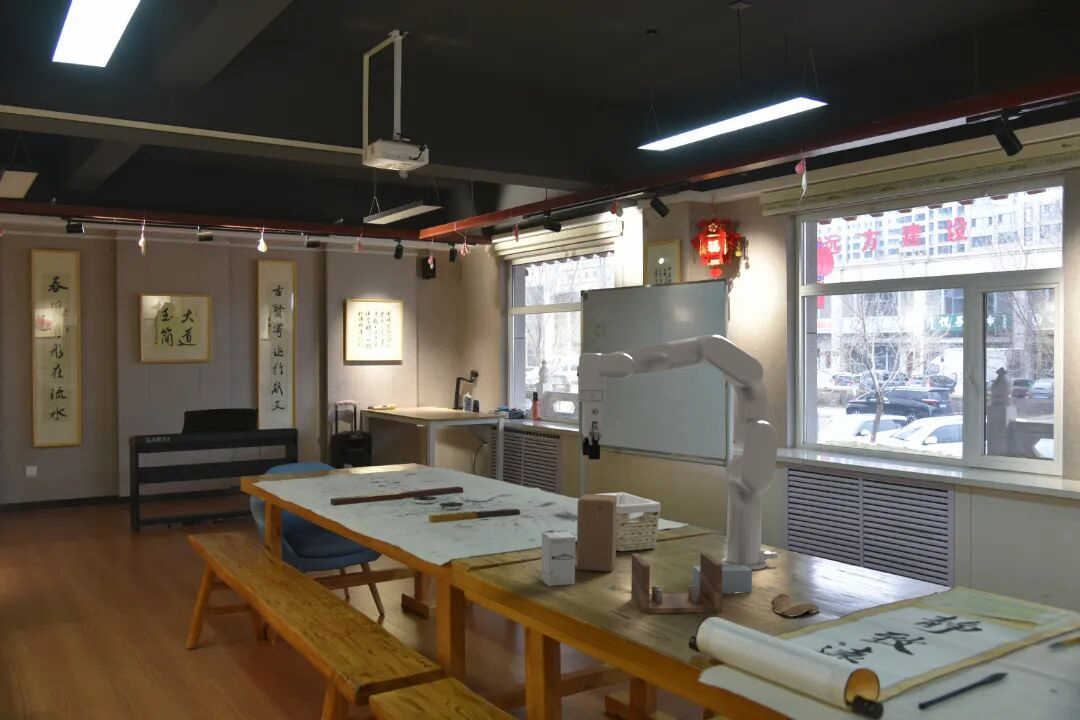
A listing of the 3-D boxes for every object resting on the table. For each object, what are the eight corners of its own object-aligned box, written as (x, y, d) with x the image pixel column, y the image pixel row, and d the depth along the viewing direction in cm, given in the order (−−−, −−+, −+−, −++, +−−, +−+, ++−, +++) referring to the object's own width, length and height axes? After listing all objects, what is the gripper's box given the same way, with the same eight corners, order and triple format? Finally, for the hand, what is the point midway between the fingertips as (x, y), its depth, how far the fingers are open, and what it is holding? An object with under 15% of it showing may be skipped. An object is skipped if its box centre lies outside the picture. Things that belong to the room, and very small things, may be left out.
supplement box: (548, 586, 224) (548, 537, 224) (540, 579, 231) (541, 532, 231) (575, 585, 226) (576, 536, 226) (567, 577, 233) (567, 531, 233)
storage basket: (580, 538, 284) (580, 493, 284) (622, 534, 291) (623, 490, 291) (617, 554, 262) (617, 505, 262) (662, 549, 269) (662, 502, 269)
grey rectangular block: (745, 588, 226) (745, 565, 226) (751, 593, 221) (752, 570, 221) (692, 589, 224) (692, 566, 224) (698, 594, 219) (698, 571, 219)
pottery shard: (821, 619, 205) (791, 599, 213) (825, 602, 204) (793, 582, 212) (788, 628, 199) (758, 607, 208) (791, 611, 198) (761, 591, 207)
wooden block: (612, 572, 239) (612, 500, 239) (576, 570, 241) (577, 498, 241) (616, 564, 249) (617, 494, 249) (581, 562, 251) (582, 493, 251)
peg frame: (706, 597, 216) (706, 552, 216) (721, 611, 204) (722, 564, 204) (631, 599, 214) (631, 553, 214) (642, 613, 202) (642, 565, 202)
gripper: (610, 398, 236) (610, 461, 236) (599, 395, 254) (598, 453, 254) (583, 398, 236) (582, 461, 236) (574, 395, 253) (573, 453, 253)
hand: (591, 457), depth 245 cm, fingers open, 9 cm apart
